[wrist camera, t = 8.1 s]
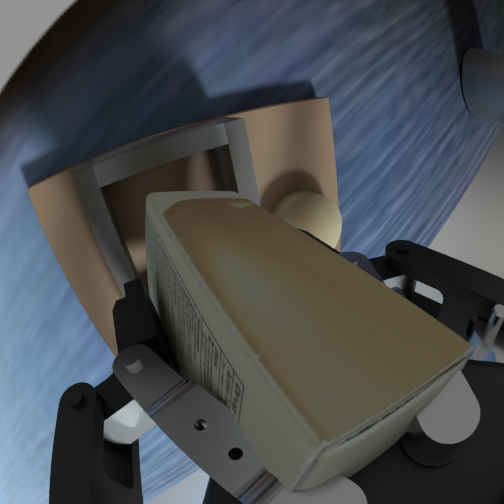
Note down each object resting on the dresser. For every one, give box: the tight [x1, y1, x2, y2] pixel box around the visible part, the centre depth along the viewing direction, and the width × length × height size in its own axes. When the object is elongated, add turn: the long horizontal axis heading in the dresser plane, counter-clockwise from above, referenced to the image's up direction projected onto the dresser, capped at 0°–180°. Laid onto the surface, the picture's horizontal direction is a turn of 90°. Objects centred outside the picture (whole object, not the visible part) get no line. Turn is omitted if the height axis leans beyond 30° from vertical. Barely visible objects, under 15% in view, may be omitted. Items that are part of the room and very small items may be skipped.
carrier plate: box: [27, 97, 342, 357], centre depth 17 cm, size 18×12×4 cm, turn 102°
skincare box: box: [145, 191, 475, 493], centre depth 10 cm, size 6×4×12 cm
